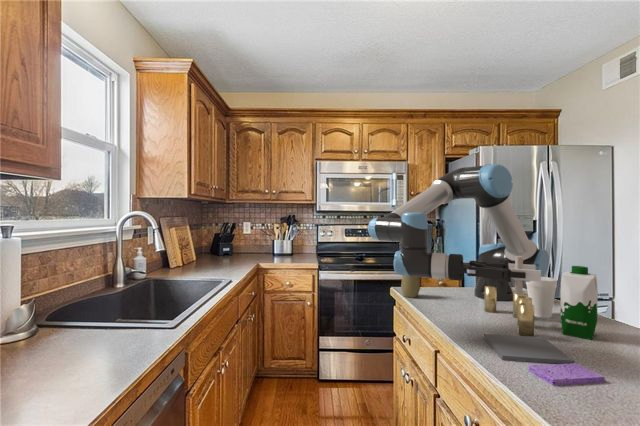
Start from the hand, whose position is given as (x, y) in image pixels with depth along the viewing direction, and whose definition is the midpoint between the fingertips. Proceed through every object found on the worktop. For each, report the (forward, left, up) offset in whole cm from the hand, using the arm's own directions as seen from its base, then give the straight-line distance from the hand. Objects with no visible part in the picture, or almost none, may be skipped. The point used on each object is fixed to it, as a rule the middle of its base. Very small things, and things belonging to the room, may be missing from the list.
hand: (537, 272), depth 92 cm
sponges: (0, +15, -21) cm, 26 cm away
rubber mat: (+3, 0, -20) cm, 21 cm away
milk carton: (-18, -16, -21) cm, 32 cm away
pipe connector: (+4, -1, -6) cm, 8 cm away
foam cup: (-16, -36, -21) cm, 44 cm away
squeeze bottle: (+28, -55, -21) cm, 65 cm away
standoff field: (-3, -24, -20) cm, 32 cm away
